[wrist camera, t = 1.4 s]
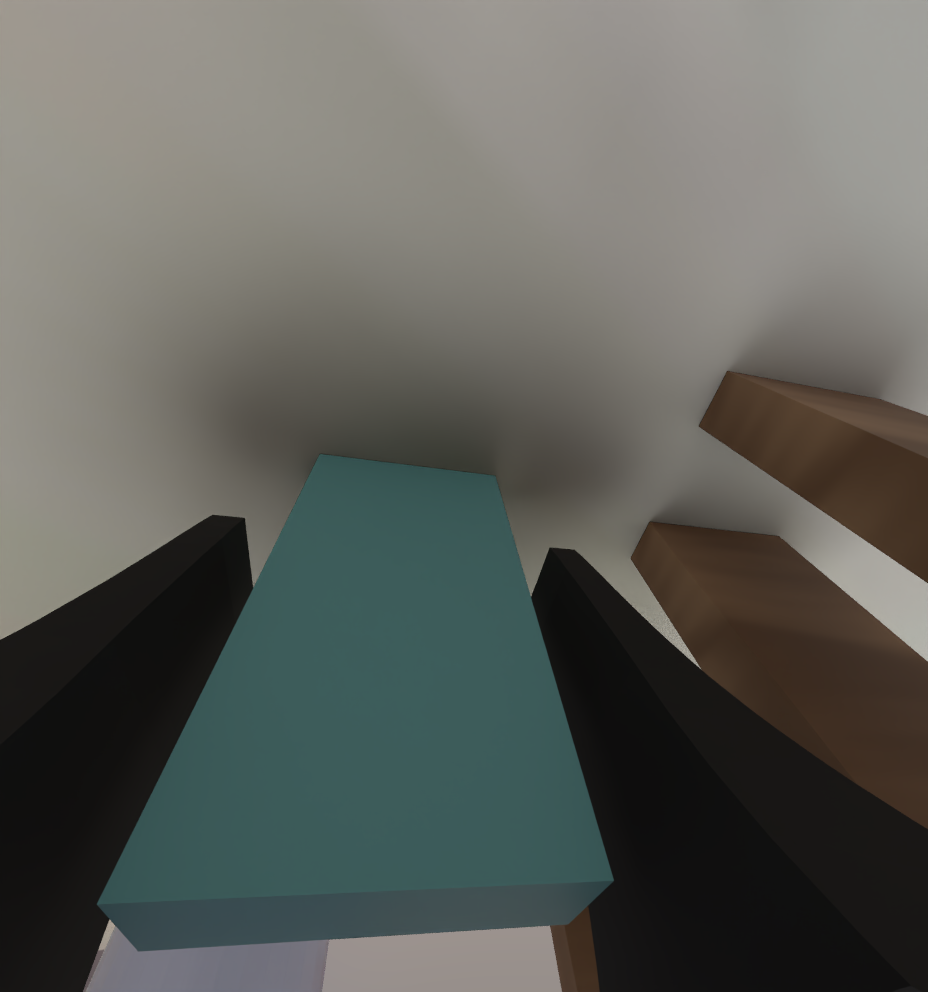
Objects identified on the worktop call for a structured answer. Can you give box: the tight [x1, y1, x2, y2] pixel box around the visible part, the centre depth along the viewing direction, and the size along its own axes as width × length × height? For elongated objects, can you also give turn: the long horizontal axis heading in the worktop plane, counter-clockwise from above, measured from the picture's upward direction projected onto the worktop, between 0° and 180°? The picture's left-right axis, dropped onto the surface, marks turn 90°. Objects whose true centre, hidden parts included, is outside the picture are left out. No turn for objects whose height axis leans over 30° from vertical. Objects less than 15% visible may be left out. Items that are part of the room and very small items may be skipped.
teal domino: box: [97, 454, 614, 952], centre depth 8 cm, size 2×5×9 cm, turn 79°
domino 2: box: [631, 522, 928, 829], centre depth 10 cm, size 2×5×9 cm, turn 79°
